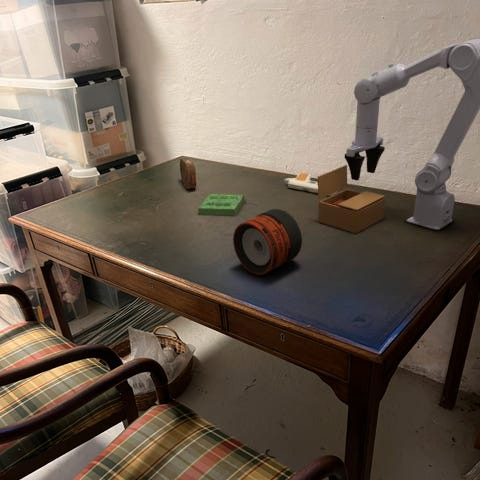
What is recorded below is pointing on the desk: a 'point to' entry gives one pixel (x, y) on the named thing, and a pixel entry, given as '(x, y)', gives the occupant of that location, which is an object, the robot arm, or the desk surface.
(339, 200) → the block
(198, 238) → the desk surface
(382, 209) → the carton
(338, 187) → the flap
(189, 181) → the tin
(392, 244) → the desk surface
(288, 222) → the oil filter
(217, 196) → the carved green slab
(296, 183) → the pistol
